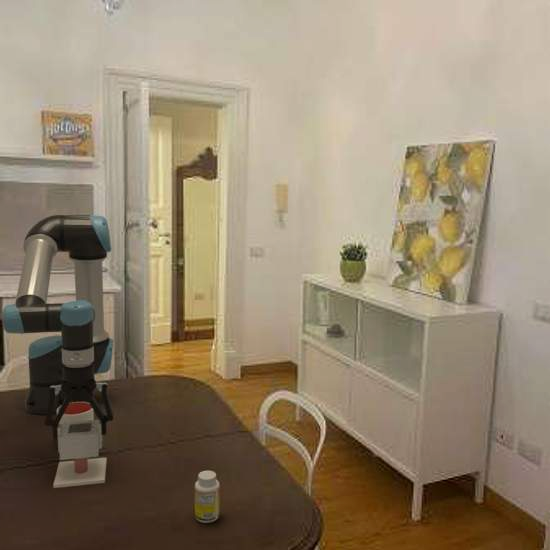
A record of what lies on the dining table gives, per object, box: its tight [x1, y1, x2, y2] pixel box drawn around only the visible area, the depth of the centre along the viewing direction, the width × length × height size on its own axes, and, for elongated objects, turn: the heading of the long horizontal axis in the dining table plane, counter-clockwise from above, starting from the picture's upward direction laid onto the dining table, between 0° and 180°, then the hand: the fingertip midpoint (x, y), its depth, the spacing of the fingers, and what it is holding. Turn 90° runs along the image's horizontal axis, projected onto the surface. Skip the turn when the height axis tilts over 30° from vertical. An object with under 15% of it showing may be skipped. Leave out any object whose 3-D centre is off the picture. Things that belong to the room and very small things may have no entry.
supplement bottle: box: [194, 470, 221, 524], centre depth 124 cm, size 6×6×10 cm
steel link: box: [59, 419, 100, 461], centre depth 140 cm, size 9×9×6 cm
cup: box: [56, 401, 95, 425], centre depth 159 cm, size 10×10×10 cm
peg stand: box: [53, 457, 107, 489], centre depth 141 cm, size 12×12×8 cm
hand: (80, 448), depth 141 cm, fingers closed on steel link, 9 cm apart
